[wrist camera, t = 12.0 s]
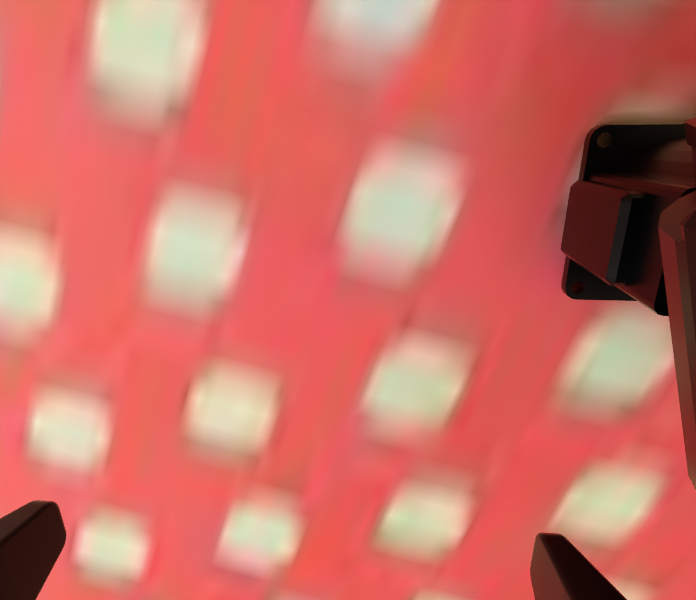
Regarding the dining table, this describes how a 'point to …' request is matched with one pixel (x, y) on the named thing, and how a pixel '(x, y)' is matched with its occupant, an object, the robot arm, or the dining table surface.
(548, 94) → the dining table surface
